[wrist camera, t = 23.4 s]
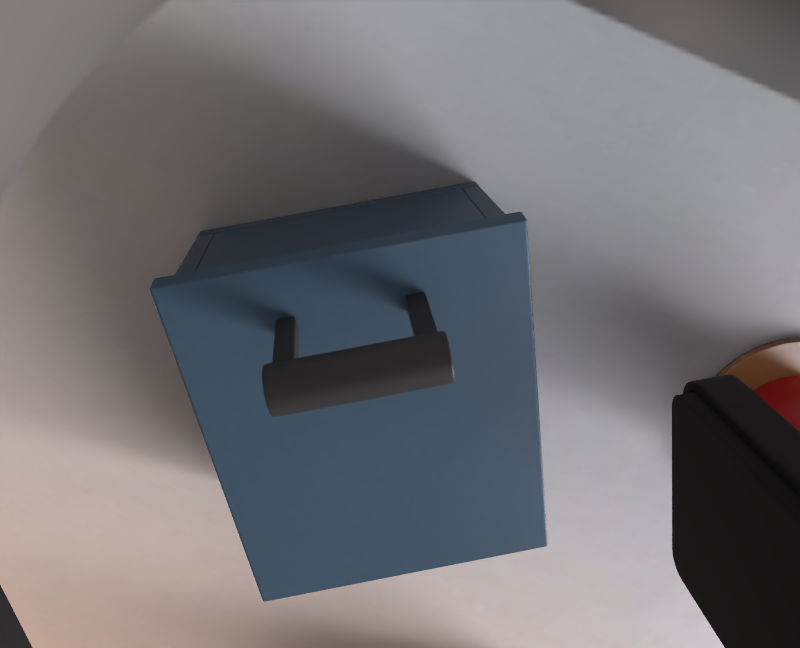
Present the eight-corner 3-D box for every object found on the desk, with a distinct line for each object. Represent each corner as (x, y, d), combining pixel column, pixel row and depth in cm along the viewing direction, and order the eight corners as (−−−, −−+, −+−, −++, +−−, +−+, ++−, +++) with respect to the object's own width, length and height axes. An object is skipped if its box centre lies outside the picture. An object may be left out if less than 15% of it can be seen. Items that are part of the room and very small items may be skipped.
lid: (153, 277, 24) (116, 362, 19) (521, 210, 24) (572, 278, 20) (263, 587, 32) (256, 703, 27) (542, 533, 32) (583, 637, 27)
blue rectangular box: (199, 231, 32) (169, 282, 26) (475, 181, 32) (511, 219, 26) (274, 494, 38) (264, 587, 32) (506, 449, 38) (542, 533, 32)
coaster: (726, 325, 36) (730, 328, 36) (895, 351, 38) (901, 354, 38) (663, 487, 40) (666, 491, 40) (820, 504, 42) (824, 508, 41)
